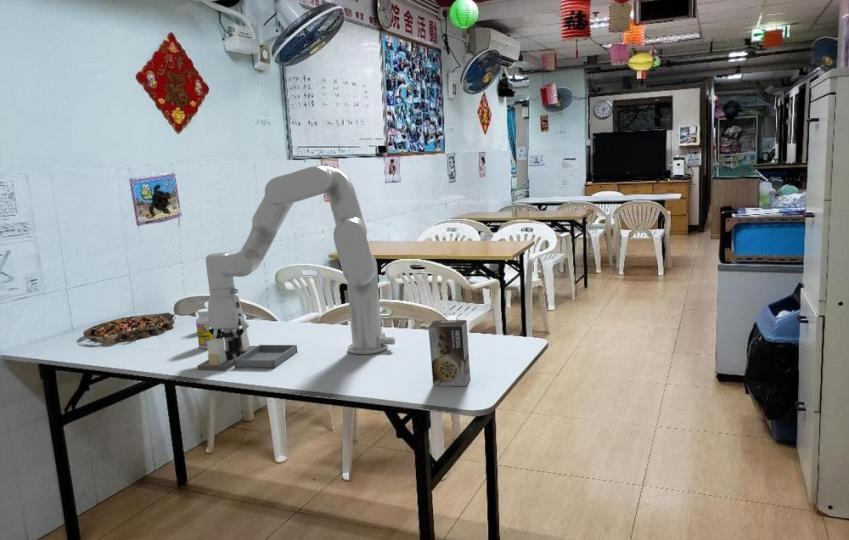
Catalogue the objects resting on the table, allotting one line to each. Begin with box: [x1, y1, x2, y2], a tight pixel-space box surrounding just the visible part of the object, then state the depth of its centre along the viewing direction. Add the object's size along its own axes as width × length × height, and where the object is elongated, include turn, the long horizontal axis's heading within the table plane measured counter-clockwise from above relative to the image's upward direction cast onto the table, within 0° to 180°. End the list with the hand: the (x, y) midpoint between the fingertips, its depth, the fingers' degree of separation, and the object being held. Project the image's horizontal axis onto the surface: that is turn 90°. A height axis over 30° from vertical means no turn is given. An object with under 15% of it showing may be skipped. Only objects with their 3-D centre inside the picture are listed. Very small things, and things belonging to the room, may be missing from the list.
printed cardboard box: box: [427, 319, 471, 387], centre depth 169 cm, size 9×6×16 cm
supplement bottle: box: [195, 308, 215, 350], centre depth 222 cm, size 7×7×13 cm
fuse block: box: [196, 326, 258, 371], centre depth 205 cm, size 10×21×8 cm, turn 166°
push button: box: [220, 329, 240, 360], centre depth 205 cm, size 7×5×10 cm
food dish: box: [82, 312, 177, 346], centre depth 252 cm, size 35×33×8 cm
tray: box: [234, 344, 298, 370], centre depth 202 cm, size 13×16×2 cm
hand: (229, 348), depth 205 cm, fingers open, 5 cm apart
